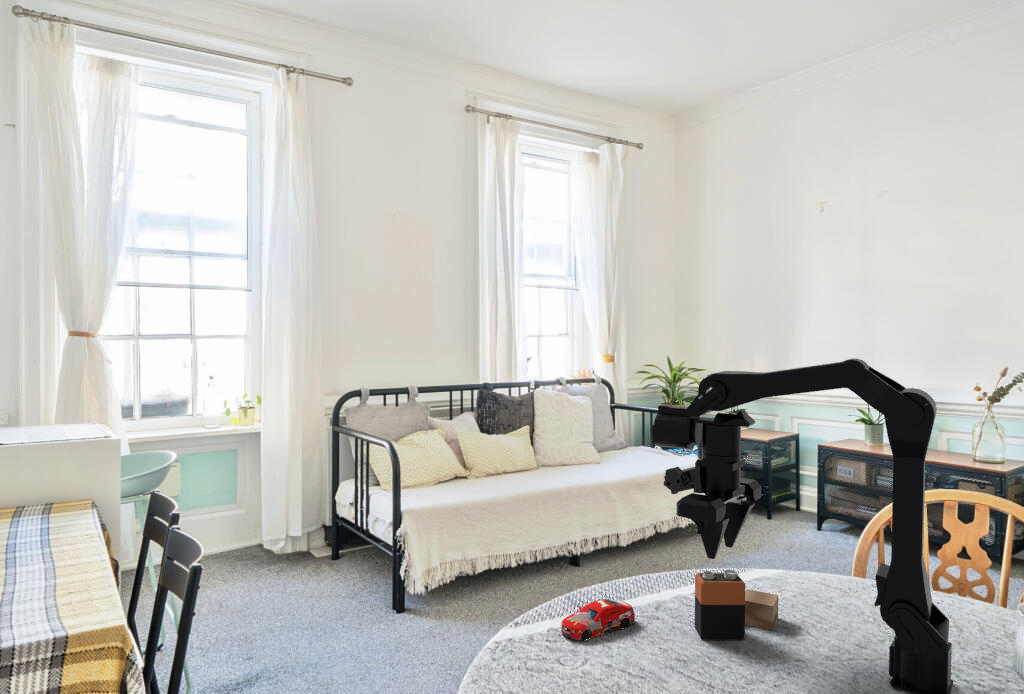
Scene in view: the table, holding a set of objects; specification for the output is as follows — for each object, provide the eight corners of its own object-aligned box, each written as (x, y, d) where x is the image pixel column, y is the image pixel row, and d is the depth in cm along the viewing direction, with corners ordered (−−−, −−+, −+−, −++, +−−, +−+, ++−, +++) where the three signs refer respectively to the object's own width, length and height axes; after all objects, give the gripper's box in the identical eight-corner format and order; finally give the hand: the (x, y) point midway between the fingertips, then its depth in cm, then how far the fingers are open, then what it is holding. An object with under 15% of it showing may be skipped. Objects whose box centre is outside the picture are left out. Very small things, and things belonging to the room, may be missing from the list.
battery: (745, 641, 105) (746, 577, 104) (701, 641, 105) (701, 577, 104) (736, 628, 109) (737, 566, 108) (693, 628, 109) (694, 566, 109)
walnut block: (778, 618, 113) (778, 595, 112) (772, 631, 108) (773, 606, 108) (746, 612, 115) (746, 589, 115) (740, 623, 111) (740, 599, 111)
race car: (574, 647, 104) (574, 621, 103) (554, 633, 108) (553, 608, 108) (640, 626, 110) (640, 602, 110) (618, 613, 115) (618, 590, 115)
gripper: (698, 438, 118) (697, 528, 119) (644, 455, 104) (644, 557, 104) (763, 446, 111) (761, 541, 111) (715, 465, 96) (714, 574, 97)
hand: (720, 552), depth 106 cm, fingers open, 6 cm apart
